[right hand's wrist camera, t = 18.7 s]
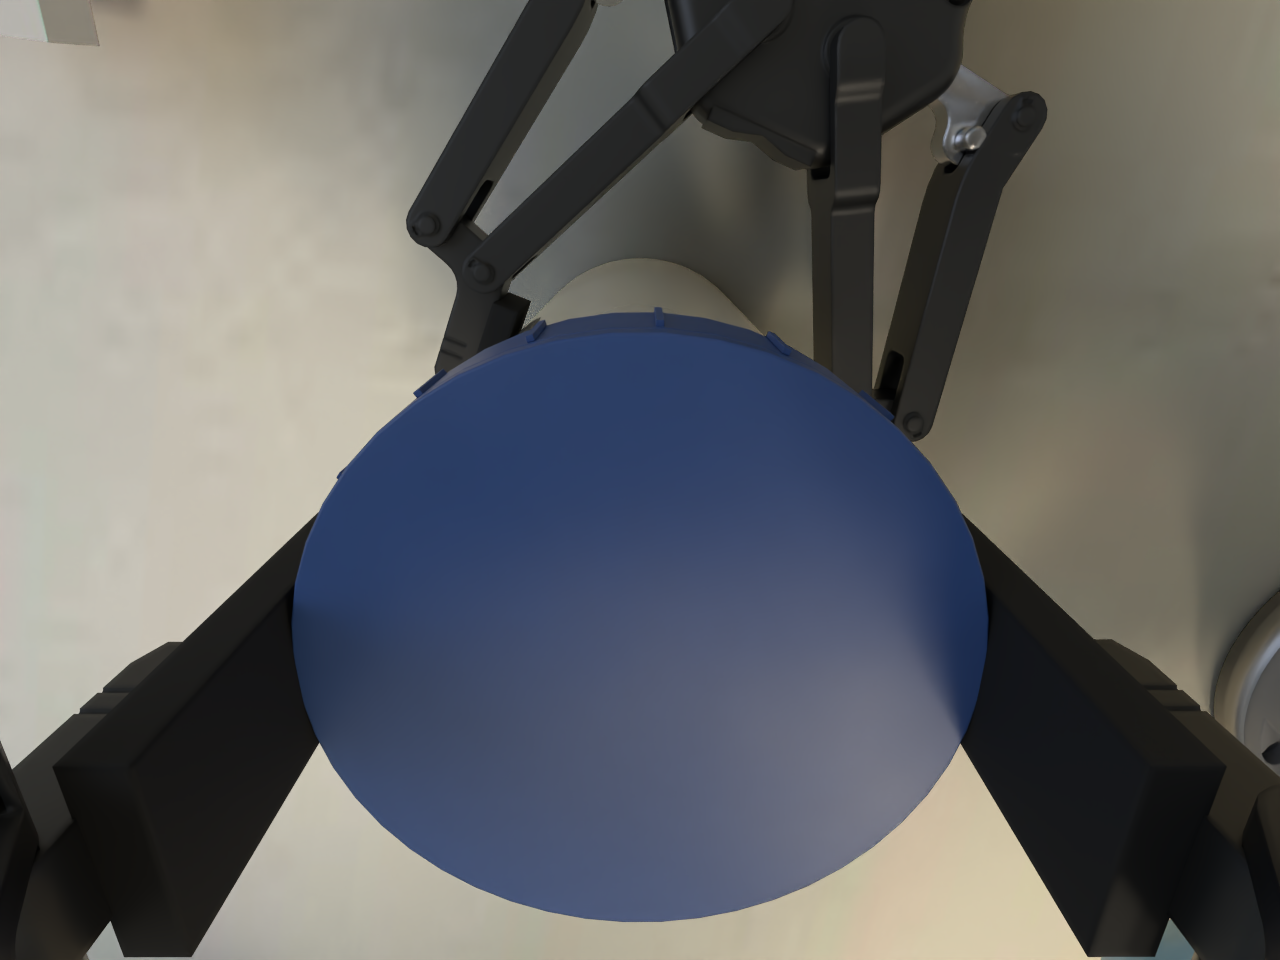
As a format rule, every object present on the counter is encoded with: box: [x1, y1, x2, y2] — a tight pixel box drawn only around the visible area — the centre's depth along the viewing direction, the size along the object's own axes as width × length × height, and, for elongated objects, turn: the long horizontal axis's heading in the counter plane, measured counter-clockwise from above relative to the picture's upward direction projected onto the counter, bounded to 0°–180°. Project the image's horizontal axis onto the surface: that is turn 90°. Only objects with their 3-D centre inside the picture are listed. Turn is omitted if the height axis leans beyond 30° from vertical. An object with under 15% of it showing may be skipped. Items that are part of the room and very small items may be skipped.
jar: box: [517, 258, 764, 336], centre depth 20 cm, size 9×9×19 cm
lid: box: [291, 307, 989, 922], centre depth 11 cm, size 10×10×2 cm
